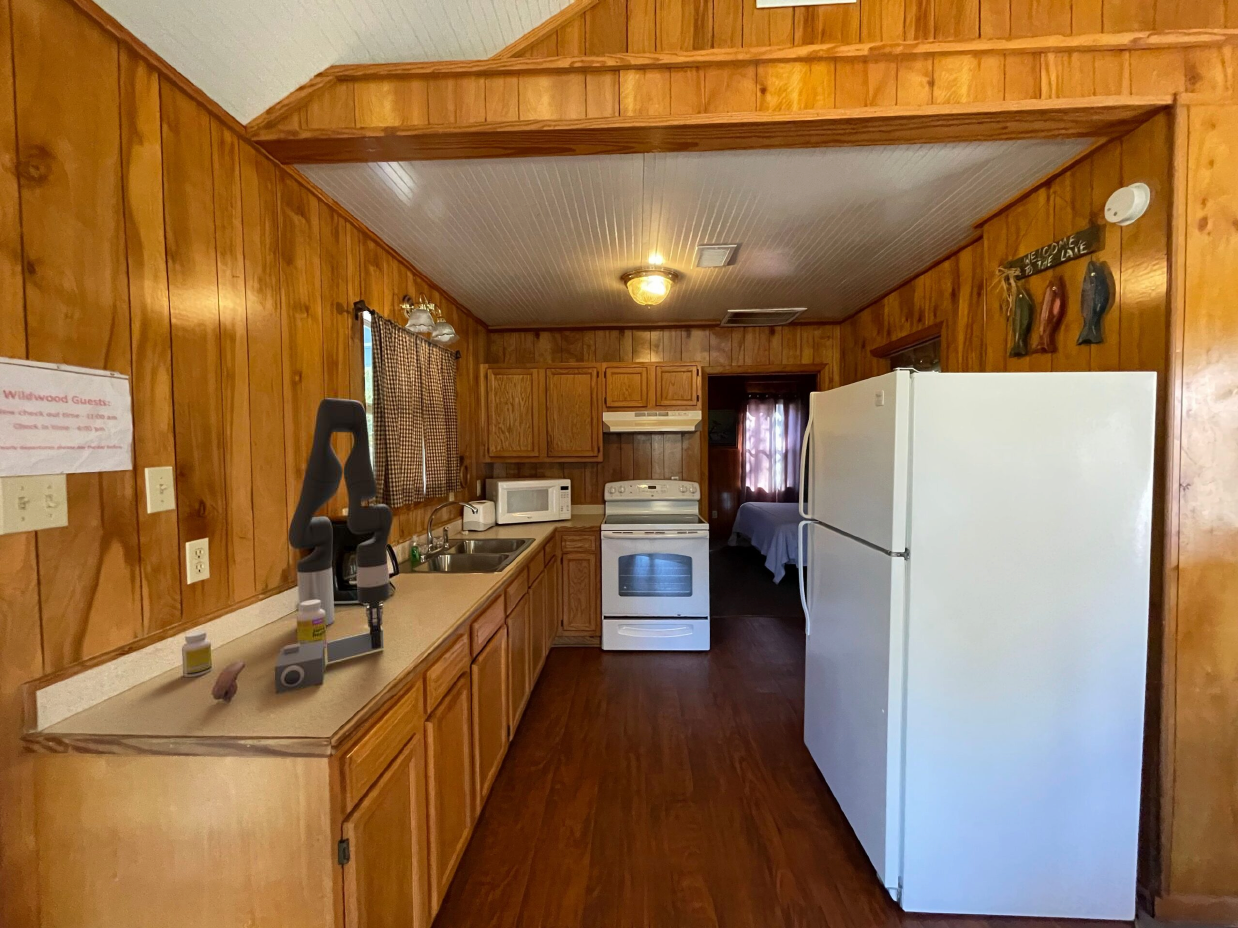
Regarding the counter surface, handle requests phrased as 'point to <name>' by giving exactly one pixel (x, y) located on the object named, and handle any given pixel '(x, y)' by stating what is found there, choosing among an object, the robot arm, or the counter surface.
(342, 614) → the counter surface
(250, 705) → the counter surface
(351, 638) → the door
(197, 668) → the supplement bottle
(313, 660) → the camera box
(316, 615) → the supplement bottle
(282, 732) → the counter surface
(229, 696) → the mushroom
